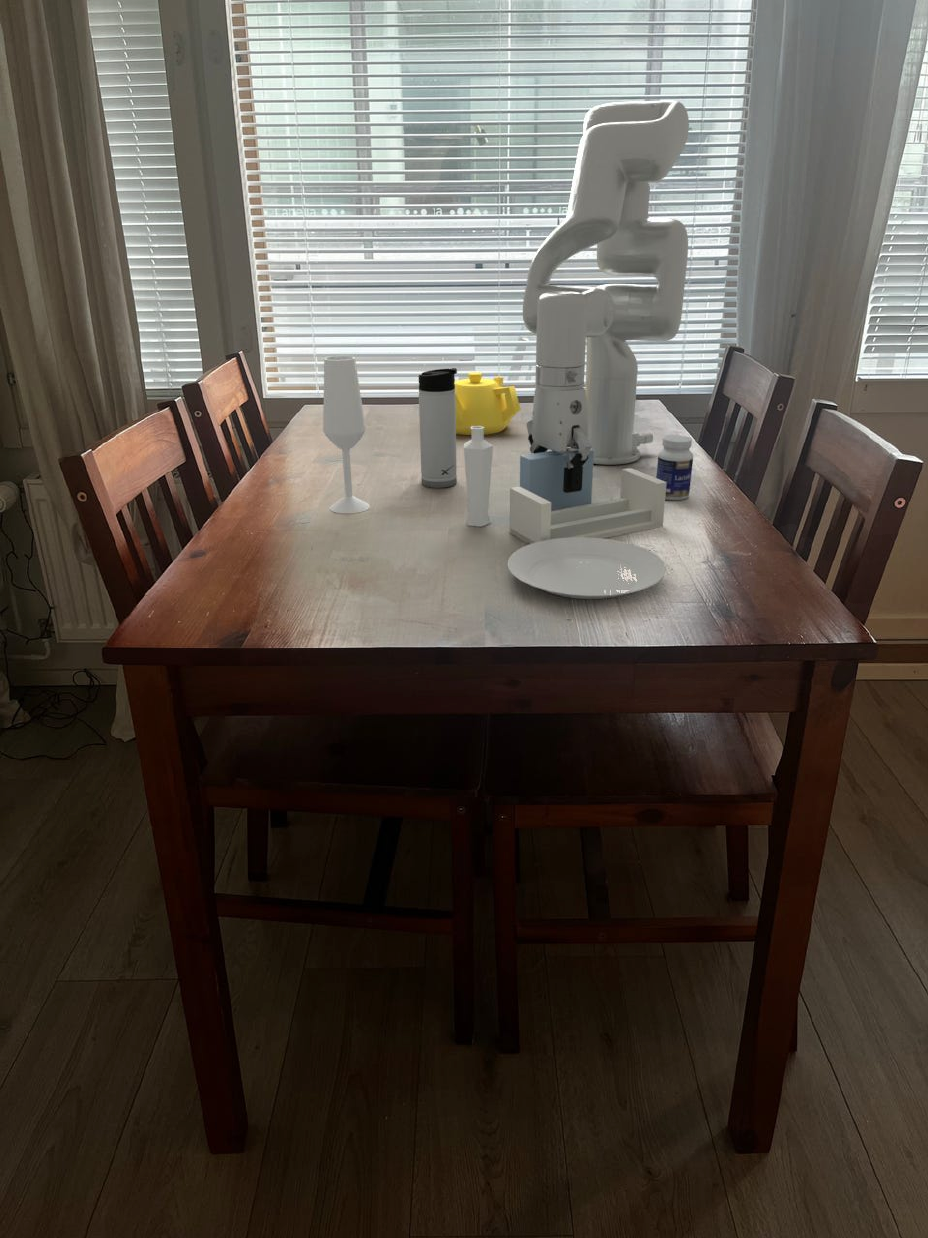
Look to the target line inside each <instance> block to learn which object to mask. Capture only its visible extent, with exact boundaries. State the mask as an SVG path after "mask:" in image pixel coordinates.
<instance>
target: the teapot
mask: <svg viewBox="0 0 928 1238" xmlns="http://www.w3.org/2000/svg"><path fill="white" fill-rule="evenodd" d="M482 377H483V373H482V372H477V371H475V372H474V371H472V372H469V373H467V378H464V379H463V378H462V379H459V380H455V383H454V384H455V406H456V435H463V436H472V433H471V426H482V427H485V428H484V436H486V435H487V436H488V435H492V434H493V435H494V434H498V433H500V432H503V431H504V430H505V429H506V428H507V427H508V425H509V424H510V423H511V420H512V419H513V418H514V417H515V416H516V415H517V414H518V413H519V412H520V411H521V406H520V402H519V399H518V394H517V390H516V387H515V385H513V386H512V385H511V386H504V377H503V376H496V377H493V378H494V379H490V378H489V379H488V378H482Z"/></svg>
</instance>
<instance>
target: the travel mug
mask: <svg viewBox="0 0 928 1238" xmlns="http://www.w3.org/2000/svg"><path fill="white" fill-rule="evenodd" d="M457 373H458V369H457V368H456V367H451V368H438V369H433V370H432V369H431V370H427V371H426V370H425V371H423V372H421V374H419V375H418V413H419V415H418V416H419V443H420V445H419V446H420V448H419V449H420V468H421V469H420V474H421V476H420V477H421V479H420V480H421V484H422V485H423V486H424V487H427V488H432V489H442V488H443V489H445V488H450V487H452V486H454V485H456V484H457V482H458V481H457V476H458V475H457V434H456V406H455V384H454V383H455V381H456V379H455V375H457Z"/></svg>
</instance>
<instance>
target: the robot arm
mask: <svg viewBox="0 0 928 1238" xmlns="http://www.w3.org/2000/svg"><path fill="white" fill-rule="evenodd" d="M689 127H690V119H689V114H688V111H687V108H686V106H685V105H684V104H683V103H682V102H680V101H677V100H653V101H652V100H648V101H623V102H622V101H620V102H619V101H618V102H610V103H609V102H608V103H604V104H601V105H596V106H593V108H591V109H590V110H588V112H587V113H586V114H585V117H584V121H583V135H582V137H581V139H580V142H579V146H578V152H577V157H576V163H575V167H574V173H573V179H572V183H571V185H572V186H571V190H570V197H569V200H568V205H567V206H568V208H567V213H566V217H565V219H564V220H563V221H562V222H561V223H560V225H558V226H557V227H556V228H555V229H554V230H553V231H552V232H551V233H550V234H549V235H548V237H546V239H545V240H544V241H543V242H542V244H541V245H540V247H539V248H537V251H536V253H535V255H534V256H533V258H532V260H531V263H530V265H529V268H528V274H527V279H526V283H525V284H526V285H525V288H524V289H525V290H524V296H523V303H522V319H523V320H522V321H523V323H524V326H525V327H526V329H527V330H528V331H529V332H530V333H532V334H534V335H536V341H535V344H536V345H535V347H536V348H535V349H536V350H535V384H534V385H535V387H534V394H533V402H532V404H533V405H532V414H531V415H532V416H531V420H529V421H528V422H526V429H527V430H526V431H527V433H528V436H527V437H528V438H527V440H528V442H529V444H530V447H529V451H530V454H534V453H541V452H548V451H549V450H550V451H555V452H557V453H560V454H563V457H564V460H565V463H566V465H567V467H566V468H564V480H563V492H565V493H570V492H577V491H581V490H582V477H583V467H584V466H585V462H586V461H587V460H588V455H589V452H590V450H591V449H592V450H594V457H593V465H594V464H595V465H607V466H610V465H611V466H612V465H613V466H614V465H615V466H616V465H624V464H625V465H626V464H630V463H634V462H636V461H638V460H640V459H641V458H640V457H641V451H640V449H638V447H639V446H641V445H643V444H644V445H646V444H651V443H652V442H654V436H653V434H652V433H651V432H647V433H642V434H640V433H639V432H635V431H634V429H635V428H634V427H635V415H636V401H637V399H636V397H637V387H638V386H637V385H638V371H639V369H638V367H639V365H638V360H637V357H636V356H635V354H634V352H633V350H632V349H631V347H630V346H629V344H628V343H627V341H639V342H640V341H644V342H645V341H646V342H667V341H671V340H672V339H674V338H675V337H676V335H677V334H678V332H679V329H680V326H681V321H682V315H683V314H682V313H683V306H684V296H685V295H684V294H685V287H686V286H685V285H686V279H687V278H686V277H687V265H688V255H689V236H688V231H687V228H686V225H684V224H683V222H682V221H680V220H678V219H675V218H665V217H664V218H662V217H661V218H655V217H654V218H650V217H649V208H650V207H649V206H650V197H651V188H650V187H651V186H650V183H649V182H658V181H661V180H663V179H665V178H666V177H667V175H668V174H669V173H670V171H672V169H673V167H674V166H675V163H677V160H678V159H679V158H680V156H681V154H682V153H683V151H684V149H685V147H686V144H687V140H688V137H689V130H690V128H689ZM594 246H596V262H597V263H596V264H597V267H598V269H599V270H600V272H602V273H604V274H605V275H610V276H620V277H646V278H647V277H648V278H650V277H653V278H655V279H656V280H657V285H656V284H636V283H634V284H633V283H632V284H631V283H628V284H627V283H626V284H625V283H606V284H601V285H598V286H596V287H594V286H577V285H576V286H575V285H574V286H573V285H550V282H551V279H552V277H553V275H554V273H556V271H557V269H559V267H560V266H561V265H562V264H563V263H565V262H566V261H567V260H568V259H570V258H571V257H573V256H575V255H577V254H579V253H581V252H583V251H585V250H587V249H590V248H592V247H594ZM585 366H586V367H585ZM585 368H586V369H585ZM584 385H585V387H584ZM570 454H575V456H574V457H573V459H572V458H571V455H570Z"/></svg>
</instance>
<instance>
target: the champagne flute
mask: <svg viewBox="0 0 928 1238" xmlns="http://www.w3.org/2000/svg"><path fill="white" fill-rule="evenodd" d="M323 360H324V361H323V366H324V367H323V409H322V410H323V412H322V413H323V414H322V415H323V416H322V419H323V420H322V421H323V422H322V429H323V433H324V435H325V437H326V438H327V439H328V441H330V442H331V443H332V444H333V445H334V446H335V447H337V448H339V450H341V452H342V453H341V454H342V466H343V468H342V469H343V481H344V495H345V496H343V497H342V498H340V499H339V500H337V501H335V502H334V503H333V504H331V505H330V506H329V511H331V512H333V513H338V514H356V513H361V512H364V511H368V509H370V508H371V506H370V504H369V503H368V502H365V501H364V500H361V499H359V498H358V497H356V496H354V495H353V485H352V484H353V483H352V482H353V481H352V468H351V466H352V465H351V454H350V453H351V451H350V450H351V449H352V448H354V447H355V446H356V445H357V443H358V442H359V441H360V440H361V439H362V438H363V436H364V435H365V432H366V421H365V416H364V408H363V402H362V395H361V389H360V383H359V382H360V381H359V376H358V370H357V369H358V368H357V363H356V357H355V356H352V355H332V356H331V355H329V356H326V357H324V359H323Z"/></svg>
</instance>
